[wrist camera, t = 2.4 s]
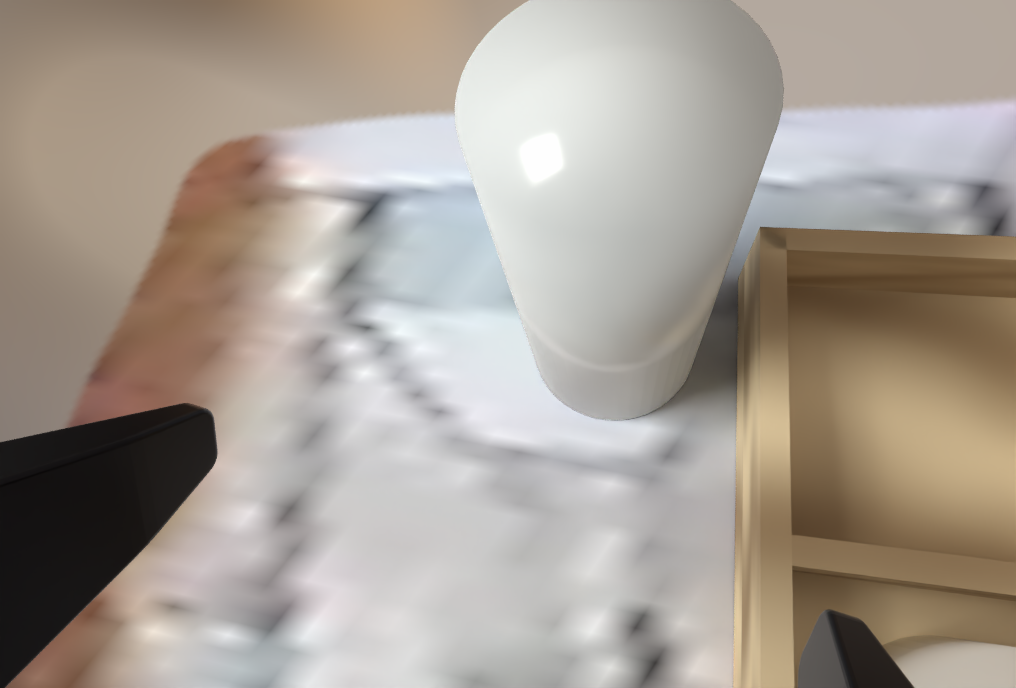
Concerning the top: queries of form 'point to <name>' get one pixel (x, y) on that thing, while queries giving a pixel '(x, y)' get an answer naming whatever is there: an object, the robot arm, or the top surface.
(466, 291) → the top surface
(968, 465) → the open wooden box
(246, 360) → the top surface
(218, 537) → the top surface
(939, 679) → the white round cylinder
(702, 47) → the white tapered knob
